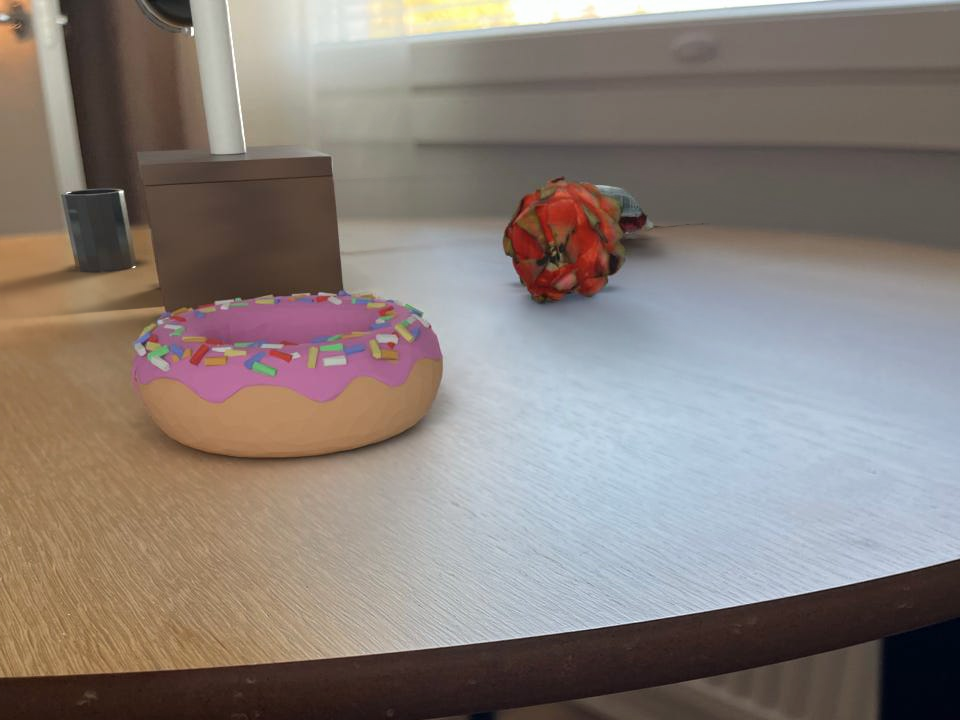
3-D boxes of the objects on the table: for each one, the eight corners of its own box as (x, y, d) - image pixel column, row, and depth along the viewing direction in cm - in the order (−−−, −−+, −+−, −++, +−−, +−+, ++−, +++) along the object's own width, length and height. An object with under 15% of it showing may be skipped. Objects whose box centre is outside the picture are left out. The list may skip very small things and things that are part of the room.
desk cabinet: (168, 329, 68) (140, 165, 64) (160, 292, 80) (136, 152, 75) (345, 313, 71) (331, 155, 67) (312, 280, 83) (299, 144, 78)
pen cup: (76, 279, 86) (59, 196, 83) (78, 270, 91) (62, 190, 87) (138, 275, 88) (123, 192, 85) (137, 266, 92) (123, 187, 89)
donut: (429, 374, 57) (425, 279, 54) (462, 458, 44) (458, 340, 42) (164, 390, 55) (147, 293, 53) (120, 482, 43) (96, 361, 40)
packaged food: (524, 235, 102) (524, 181, 100) (643, 232, 102) (646, 178, 99) (524, 250, 95) (524, 192, 92) (653, 247, 94) (656, 189, 92)
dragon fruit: (587, 300, 81) (561, 359, 72) (499, 234, 79) (461, 286, 70) (654, 209, 76) (636, 261, 67) (562, 136, 74) (530, 179, 65)
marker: (211, 155, 70) (175, -97, 63) (208, 153, 72) (173, -91, 65) (249, 153, 70) (219, -96, 63) (245, 151, 72) (215, -90, 66)
